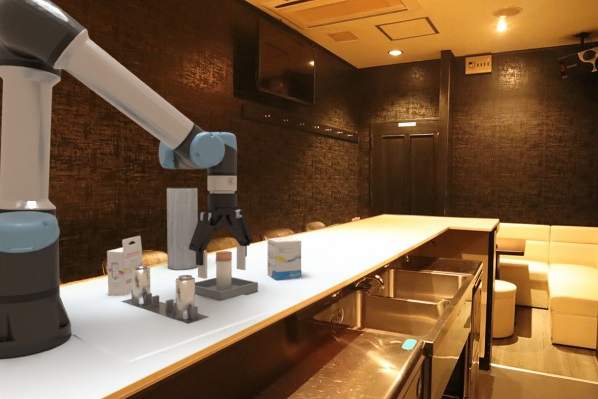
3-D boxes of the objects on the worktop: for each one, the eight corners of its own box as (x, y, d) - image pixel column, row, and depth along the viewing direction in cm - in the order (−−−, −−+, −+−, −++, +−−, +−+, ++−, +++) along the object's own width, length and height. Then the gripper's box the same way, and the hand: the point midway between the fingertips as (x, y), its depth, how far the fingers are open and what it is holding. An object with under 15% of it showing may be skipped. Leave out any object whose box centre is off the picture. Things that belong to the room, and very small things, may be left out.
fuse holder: (187, 325, 87) (187, 281, 87) (120, 302, 104) (120, 265, 103) (209, 318, 92) (209, 277, 91) (141, 297, 108) (141, 262, 108)
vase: (161, 269, 143) (160, 188, 142) (177, 263, 153) (176, 187, 151) (189, 270, 140) (188, 188, 139) (203, 265, 150) (202, 187, 149)
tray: (220, 302, 104) (220, 292, 104) (187, 293, 112) (187, 284, 112) (257, 291, 114) (257, 282, 114) (224, 284, 122) (224, 275, 122)
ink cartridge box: (126, 288, 118) (126, 234, 117) (143, 289, 117) (142, 235, 116) (106, 296, 109) (105, 239, 109) (124, 297, 108) (123, 239, 108)
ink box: (302, 278, 130) (302, 239, 130) (275, 280, 127) (275, 241, 127) (292, 272, 138) (292, 236, 138) (266, 274, 135) (266, 237, 135)
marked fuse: (223, 292, 111) (223, 254, 110) (212, 290, 113) (212, 252, 113) (235, 289, 114) (234, 252, 114) (224, 287, 116) (224, 250, 116)
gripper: (192, 193, 100) (193, 284, 101) (265, 191, 119) (265, 267, 120) (173, 193, 105) (174, 279, 106) (246, 191, 124) (246, 264, 125)
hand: (222, 273), depth 113 cm, fingers open, 13 cm apart
